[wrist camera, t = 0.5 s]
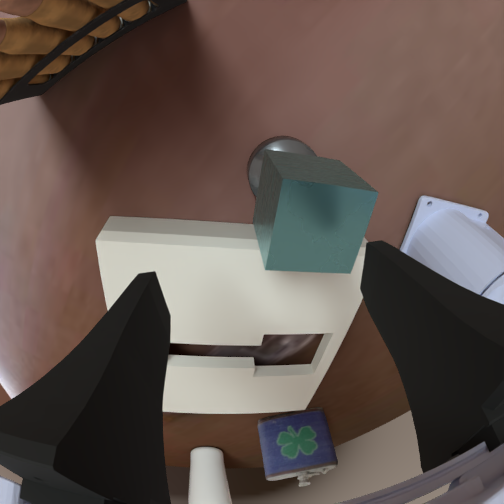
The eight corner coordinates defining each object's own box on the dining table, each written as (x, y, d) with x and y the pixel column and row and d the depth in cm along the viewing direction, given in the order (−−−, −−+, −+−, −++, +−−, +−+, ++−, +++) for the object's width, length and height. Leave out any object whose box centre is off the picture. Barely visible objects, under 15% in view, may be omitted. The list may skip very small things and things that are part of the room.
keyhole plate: (361, 233, 22) (380, 257, 19) (299, 386, 33) (304, 409, 30) (110, 216, 19) (95, 240, 16) (138, 384, 29) (135, 408, 27)
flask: (257, 425, 38) (268, 494, 29) (255, 417, 36) (267, 490, 27) (322, 413, 38) (341, 479, 29) (324, 404, 36) (344, 474, 27)
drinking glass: (189, 442, 39) (193, 529, 27) (232, 445, 41) (241, 529, 29) (183, 454, 43) (186, 532, 30) (221, 457, 44) (228, 532, 32)
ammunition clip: (40, 96, 14) (-105, 153, 4) (29, 75, 13) (-116, 116, 3) (188, 1, 12) (146, -104, 2) (175, -22, 11) (123, -134, 1)
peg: (321, 141, 18) (383, 188, 11) (307, 204, 20) (352, 277, 14) (252, 131, 17) (278, 172, 11) (242, 198, 20) (259, 273, 13)
